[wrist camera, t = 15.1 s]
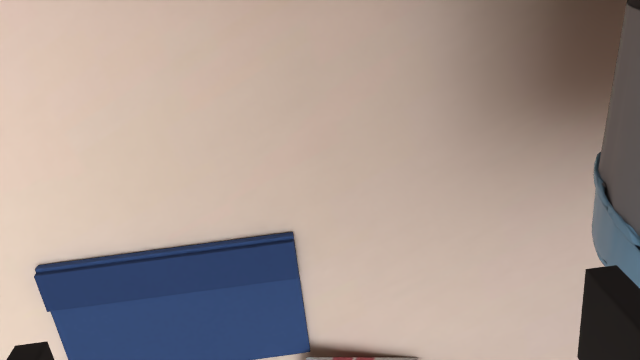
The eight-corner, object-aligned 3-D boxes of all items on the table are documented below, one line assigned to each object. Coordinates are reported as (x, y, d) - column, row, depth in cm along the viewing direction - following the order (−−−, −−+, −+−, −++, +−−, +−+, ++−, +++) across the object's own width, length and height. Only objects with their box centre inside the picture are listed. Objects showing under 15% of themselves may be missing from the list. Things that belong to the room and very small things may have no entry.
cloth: (292, 231, 43) (293, 238, 42) (309, 347, 48) (310, 355, 47) (37, 265, 43) (32, 272, 42) (79, 378, 48) (75, 388, 47)
